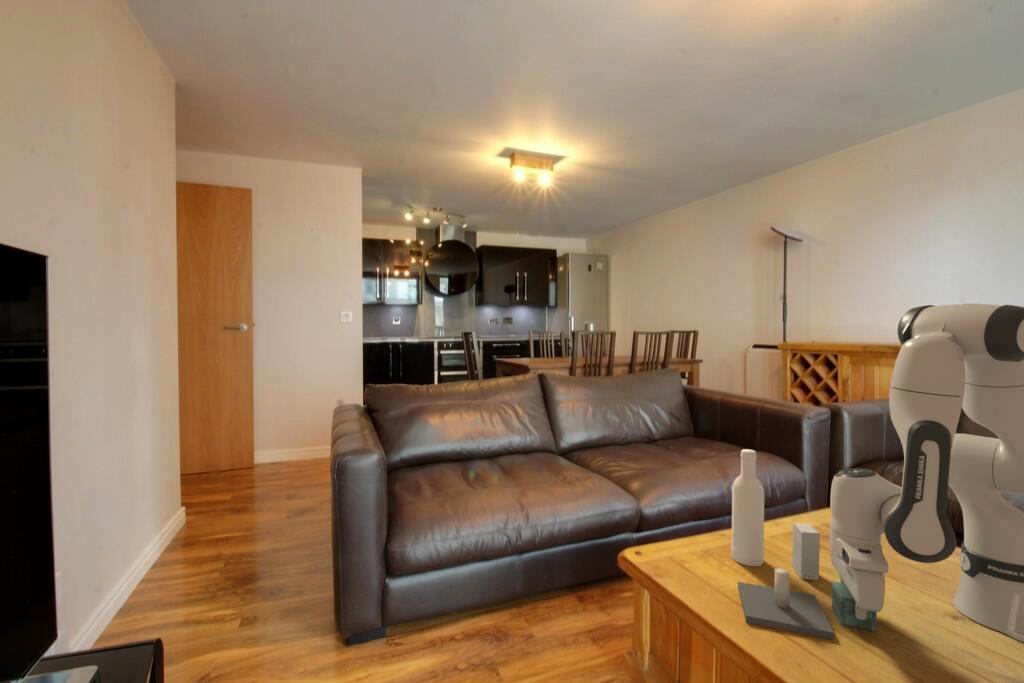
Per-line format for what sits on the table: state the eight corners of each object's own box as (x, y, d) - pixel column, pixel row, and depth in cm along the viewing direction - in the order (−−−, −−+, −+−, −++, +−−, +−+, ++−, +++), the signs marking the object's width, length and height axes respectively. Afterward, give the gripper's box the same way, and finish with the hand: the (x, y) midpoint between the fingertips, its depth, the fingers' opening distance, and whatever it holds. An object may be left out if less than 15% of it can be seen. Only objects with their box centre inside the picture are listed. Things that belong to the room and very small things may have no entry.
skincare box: (819, 581, 114) (820, 533, 114) (800, 579, 115) (801, 532, 115) (809, 568, 120) (809, 523, 120) (791, 567, 121) (792, 522, 121)
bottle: (724, 556, 127) (725, 448, 126) (743, 550, 130) (744, 445, 129) (751, 569, 120) (752, 456, 119) (770, 562, 123) (771, 452, 122)
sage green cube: (864, 613, 101) (865, 586, 101) (876, 630, 95) (876, 602, 95) (831, 607, 103) (832, 581, 103) (840, 624, 97) (841, 596, 97)
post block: (814, 601, 106) (815, 562, 106) (833, 639, 93) (834, 596, 92) (738, 587, 111) (738, 551, 111) (745, 622, 98) (746, 581, 98)
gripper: (823, 522, 110) (822, 579, 110) (853, 564, 90) (852, 632, 91) (854, 526, 107) (853, 584, 108) (892, 569, 88) (891, 640, 89)
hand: (853, 607), depth 99 cm, fingers closed on sage green cube, 6 cm apart
